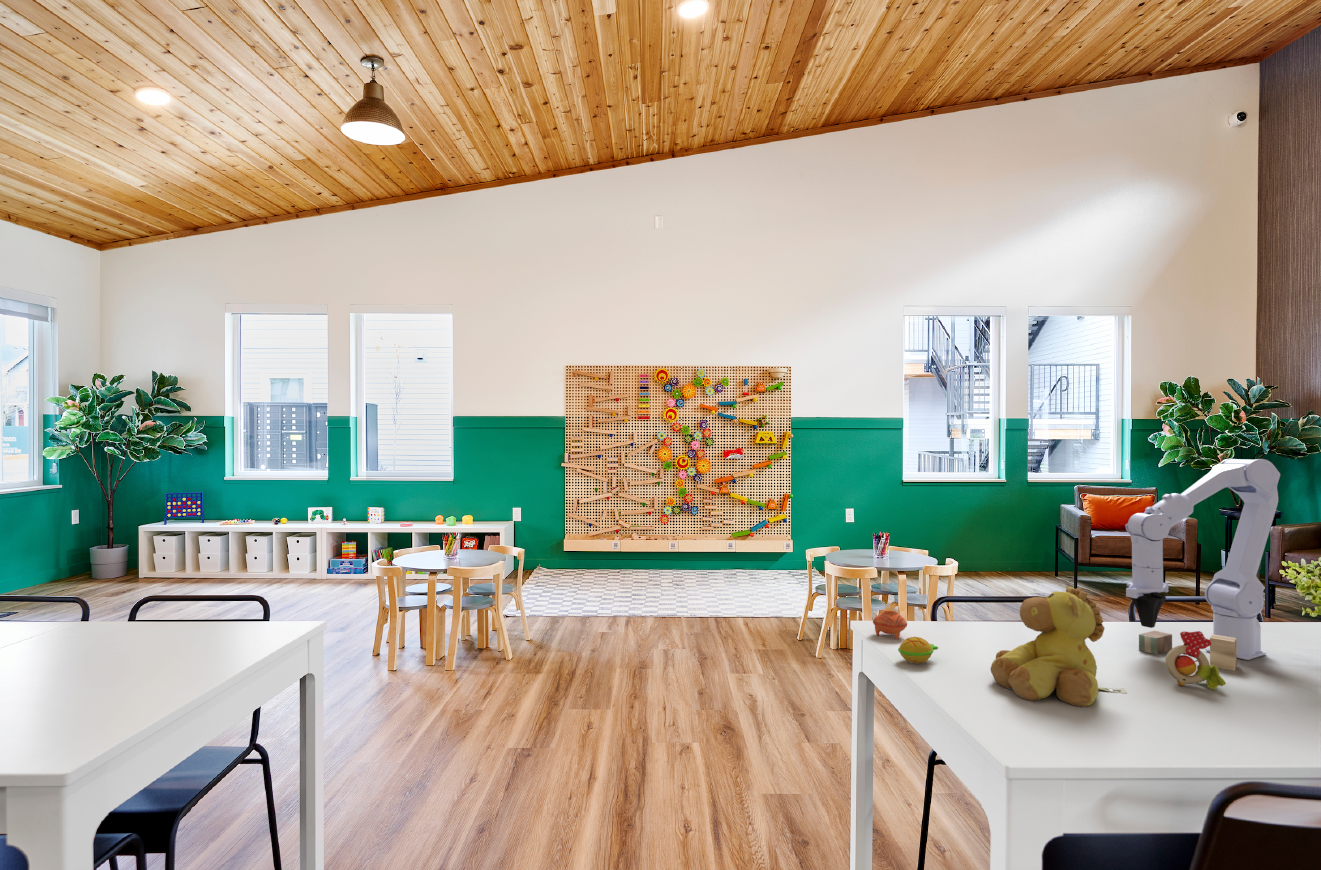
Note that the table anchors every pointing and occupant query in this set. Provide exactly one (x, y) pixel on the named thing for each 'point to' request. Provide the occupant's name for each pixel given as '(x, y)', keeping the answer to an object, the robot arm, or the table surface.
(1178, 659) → the bird rattle
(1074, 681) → the giraffe plush
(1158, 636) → the walnut block
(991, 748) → the table surface
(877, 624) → the pot
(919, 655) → the yellow green oval toy
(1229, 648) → the oak block
